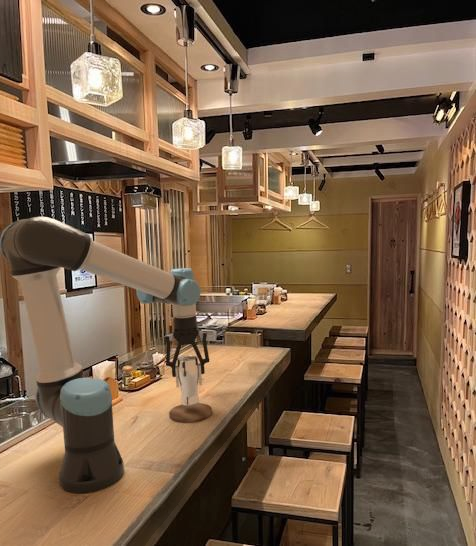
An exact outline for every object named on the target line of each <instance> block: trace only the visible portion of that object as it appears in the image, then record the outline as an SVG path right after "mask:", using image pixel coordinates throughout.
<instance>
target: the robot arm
mask: <svg viewBox="0 0 476 546" xmlns="http://www.w3.org/2000/svg"><path fill="white" fill-rule="evenodd" d="M0 252H1V254H2V256H3V257H4V259H5V260H6V261H7V262H8V265H9V269H10V274H11V277H12V278H14V279H15V280H16V281H18V282H19V284H20V287H21V291H22V296H23V300H24V305H25V309H26V313H27V317H28V322H29V327H30V331H31V335H32V340H33V342H34V343H33V345H34V347H35V352H36V358H37V361H38V366H39V370H40V371H39V373H38V374H37V376H36V377H35V380H36V385H37V388H36V390H35V403H36V406H37V407H38V409H39V411H40V412H41V413H42V415H43V416H45V417H46V418H47V419H50V420H51V421H53V422H54V423H56V424H57V425H59V426H60V427H62V432H63V442H64V453H63V458H62V461H61V462H62V463H61V466H60V470H59V472H58V474H59V475H58V478H59V486H60V488H61V487H62V488H63V489H64V490H63V489H62V488H61V489H62V490H63V491H65V492H69V493H72V494H86V493H92V492H96V491H100V490H102V489H105V488H108V487H110V486H111V485H113V484H114V483H116V482H118V480H120V479H121V478H122V476H124V475H123V474H124V473H125V467H124V460H123V458H122V454H121V453H120V451H119V448H118V446H117V444H116V442H115V430H114V428H115V427H114V416H113V396H112V392H111V386H110V384H109V383H108V382H107V381H106V380H104V379H101V378H98V377H94V378H92V377H91V376H90V377H85V374H84V371H83V366H82V365H81V364H79V363H78V362H76V360H75V358H74V357H75V356H74V351H73V348H72V343H71V339H70V335H69V334H70V333H69V328H68V324H67V320H66V316H65V311H64V306H63V301H62V300H63V299H62V297H61V292H60V287H59V283H58V278H57V274H58V273H59V271H60V270H61V268H62V269H66V270H69V271H73V272H77V271H79V270H81V271H85V272H87V273H90V274H93V275H94V276H98V277H101V278H104V279H106V280H109V281H111V282H115V283H117V284H120V285H123V286H125V287H128V288H131V289H134V290H136V291H135V292H136V297H137V299H138V301H139V302H140V303H141V304H144V305H146V304H153V303H161V304H170V305H172V306H171V307H172V316H173V317H172V318H173V320H172V321H173V332H172V333H170V334H165V336H164V339H165V342H166V350H165V351H166V355H165V366H166V367H170V368H171V374H172V377H173V378H175V382H176V388H180V383H179V378H178V367H177V363H178V360H177V359H178V358H179V356H180V355H179V354H180V352H181V348H182V346H185V345H191V346H192V347H193V350H194V352H195V356H197V359H198V367H199V380H198V385H199V386H202V385H203V382H202V381H203V378H202V375H205V372H206V371H205V364H207V363H209V362H210V356H209V351H208V345H207V344H208V343H207V336H208V334H207V332H206V331H199V329H198V321H197V319H198V318H197V316H196V314H197V302H198V301H199V300H200V297H201V287H200V284H199V283H198V282H197V281H196V280H195V274H194V270H193V269H192V268H190V267H188V268H186V267H184V268H183V267H182V268H172V269H171V270H170V271H169V272H168V271H165V270H163V269H161V268H159V267H157V266H154V265H151V264H149V263H147V262H145V261H141V260H140V259H137V258H135V257H132V256H130V255H127V254H126V253H123V252H120V251H118V250H117V249H113V248H112V247H108V246H107V245H104V244H102V243H99V242H97V241H94V240H93V238H92V236H91V235H90V234H89V233H86V232H83V231H81V230H80V229H77V228H75V227H73V226H71V225H69V224H67V223H64V222H62V221H60V220H57V219H54V218H51V217H48V216H34V217H30V218H23V219H18V220H15V221H14V222H12V223H11V224H10V225H8V226H7V227H5V229H4V230H3V231H2V233H1V235H0ZM198 337H199V338H200V339H201V341H202V348H203V353H204V358H203V356H202V354H201V352H200V350H199V347H198V345H197V342H196V339H197V338H198ZM173 338H174V339H175V340H176V341H177V345H176V348H175V351H174V354H173V358H172V361H171V343H172V341H173ZM73 492H74V493H73Z"/></svg>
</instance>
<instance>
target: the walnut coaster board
mask: <svg viewBox="0 0 476 546" xmlns="http://www.w3.org/2000/svg"><path fill="white" fill-rule="evenodd" d="M212 409H213V408H212V407H211V405H209V404H207V403H202V402H199V403H198V404H196V405H193V406H184V405H182V404H178V405H177V406H174V407H173V408H171V409H170V410H169V412H168V415H169V419H170V420H171V421H173V422H175V423H180V424H181V423H182V424H188V423H189V424H190V423H197V422H201V421H204V420H206V419H208V418H210V417H211V416H212V415H213V410H212Z"/></svg>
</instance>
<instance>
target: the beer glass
mask: <svg viewBox="0 0 476 546" xmlns="http://www.w3.org/2000/svg"><path fill="white" fill-rule="evenodd" d="M198 364H199V359H198V357H197V355H182V356H178V359H177V362H176V366H177V367H178V379H179V388H180V390H181V399H180V400H181V401H180V403H181V404H180V405H184V406H193V405H196V404H198V403H201V402H200V401H201V400H200V397H199V390H198V388H199V367H198Z"/></svg>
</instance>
